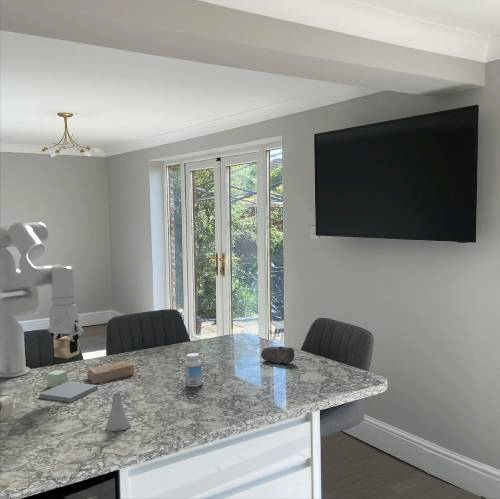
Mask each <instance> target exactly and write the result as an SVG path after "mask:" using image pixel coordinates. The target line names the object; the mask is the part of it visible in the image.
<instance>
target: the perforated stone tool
mask: <svg viewBox="0 0 500 499" xmlns="http://www.w3.org/2000/svg"><path fill="white" fill-rule="evenodd" d="M260 355H261V358H262V359H263V360H264V361H265V362H271V363H273V364H279V365H280V364H283V365H288V364H290V363H293V361H294V359H295V349H293V348H292V347H287V346H269V347H268V346H267V347H265V348H263V349H262V350H261V353H260Z"/></svg>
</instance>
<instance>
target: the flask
mask: <svg viewBox="0 0 500 499" xmlns="http://www.w3.org/2000/svg"><path fill="white" fill-rule="evenodd" d="M110 396H111V398H112V404H111V409H110V412H109V416H108V420H107V422H106V426H105V429H106V431H109V432H120V431H126V430H127V429H129V428H130V427H131V422H130V421H129V418H128V416H127V414H126V411H125V408H124V406H123V402H122V401H123V400H122V397H123V393H122V392H115V393H112V394H111V395H110Z"/></svg>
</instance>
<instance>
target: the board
mask: <svg viewBox="0 0 500 499" xmlns="http://www.w3.org/2000/svg"><path fill="white" fill-rule="evenodd" d="M98 387H99V386H98V385H96V384H92V383H91V384H90V383H81V382H76V381H75V382H74V381H67V382H65V383H63V384H61V385H58V386H56V387H50V388H49V389H47V390H46V389H45V390H44V391H42V392H40V393H39V398H40V399H45V400H46V399H47V400H53V401H60V402H67V403H73V402H75V401H77V400H79V399H81V398H82V397H85V396H87V395H89V394H91V393H93V392H96V391H98V389H99V388H98Z"/></svg>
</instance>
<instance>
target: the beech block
mask: <svg viewBox="0 0 500 499" xmlns="http://www.w3.org/2000/svg"><path fill="white" fill-rule="evenodd" d="M70 342H71V339H70V337H69V335H65V336H61V338H58V339H55V340H53V354H54V357H55V358H61V359H62V358H63V359H70V358H73V357H74V356H77V355H79V354H80V339H79V340H77V344H78V351H76V352H74V353H70Z"/></svg>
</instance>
